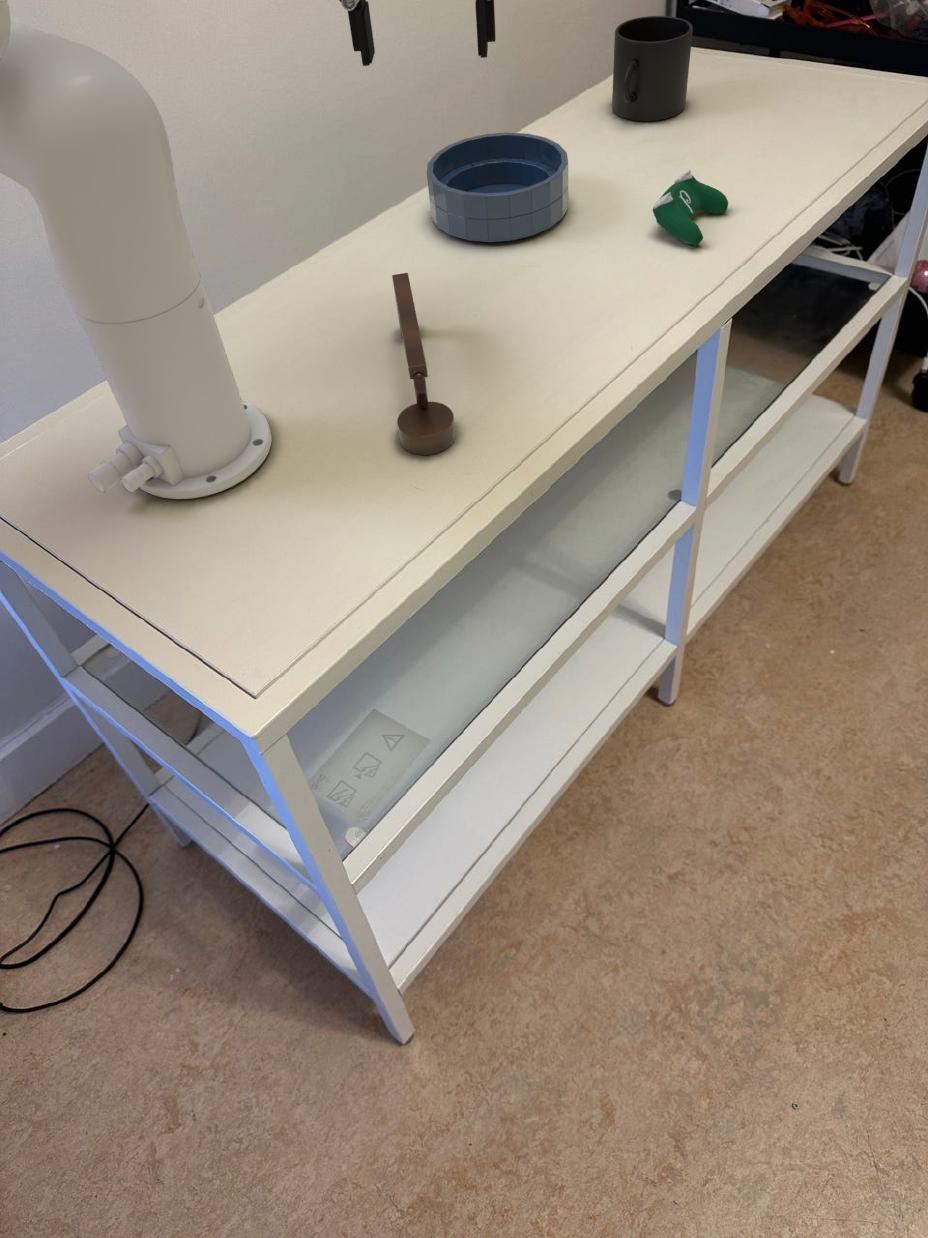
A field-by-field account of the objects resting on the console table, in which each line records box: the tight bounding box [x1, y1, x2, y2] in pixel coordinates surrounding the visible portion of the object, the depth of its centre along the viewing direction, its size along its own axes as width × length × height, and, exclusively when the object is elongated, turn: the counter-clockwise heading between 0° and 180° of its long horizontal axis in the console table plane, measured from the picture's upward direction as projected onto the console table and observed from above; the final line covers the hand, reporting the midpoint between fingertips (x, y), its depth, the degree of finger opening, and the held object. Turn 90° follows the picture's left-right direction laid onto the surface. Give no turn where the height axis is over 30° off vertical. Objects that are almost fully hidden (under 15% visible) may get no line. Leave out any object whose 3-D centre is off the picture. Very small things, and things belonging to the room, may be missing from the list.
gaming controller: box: [652, 169, 729, 247], centre depth 96 cm, size 9×4×6 cm
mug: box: [611, 15, 694, 122], centre depth 113 cm, size 9×12×9 cm
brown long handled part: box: [391, 272, 457, 456], centre depth 80 cm, size 19×5×6 cm, turn 8°
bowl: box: [426, 131, 569, 243], centre depth 100 cm, size 15×15×6 cm
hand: (425, 55), depth 75 cm, fingers open, 9 cm apart
